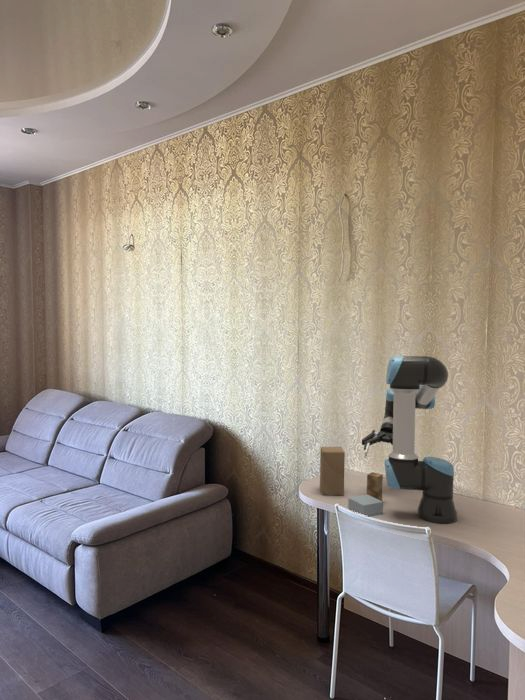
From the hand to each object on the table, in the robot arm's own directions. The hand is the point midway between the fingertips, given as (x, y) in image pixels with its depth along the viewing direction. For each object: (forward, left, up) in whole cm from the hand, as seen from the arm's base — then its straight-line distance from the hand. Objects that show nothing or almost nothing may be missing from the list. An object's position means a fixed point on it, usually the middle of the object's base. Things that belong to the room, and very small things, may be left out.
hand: (381, 457), depth 221 cm
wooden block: (+20, +12, -20) cm, 30 cm away
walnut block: (+1, +3, -19) cm, 20 cm away
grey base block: (-6, +14, -20) cm, 25 cm away
